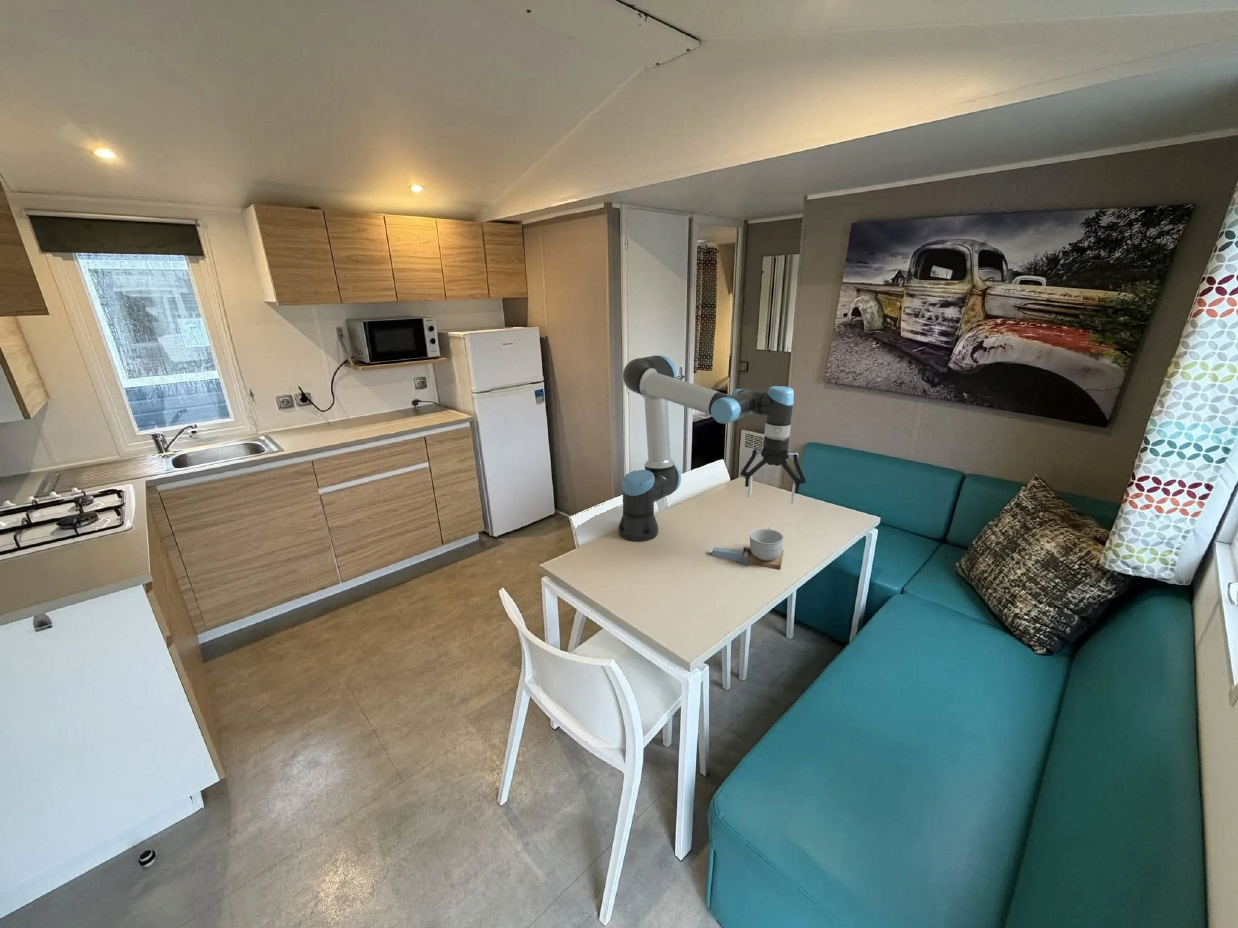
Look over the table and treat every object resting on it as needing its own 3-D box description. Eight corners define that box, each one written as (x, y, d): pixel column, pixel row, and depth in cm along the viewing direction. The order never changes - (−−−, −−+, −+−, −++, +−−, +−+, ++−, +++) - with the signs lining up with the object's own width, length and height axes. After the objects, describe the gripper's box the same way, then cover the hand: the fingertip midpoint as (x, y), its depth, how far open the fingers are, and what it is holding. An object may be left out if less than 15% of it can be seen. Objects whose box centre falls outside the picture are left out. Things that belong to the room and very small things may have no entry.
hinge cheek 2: (740, 564, 161) (740, 556, 160) (740, 563, 162) (741, 555, 161) (747, 565, 160) (748, 557, 159) (747, 564, 161) (748, 556, 160)
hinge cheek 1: (743, 555, 166) (743, 547, 165) (743, 554, 167) (744, 546, 166) (750, 556, 166) (750, 549, 165) (750, 555, 166) (751, 547, 165)
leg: (748, 557, 165) (749, 550, 165) (746, 563, 161) (747, 556, 161) (714, 552, 170) (714, 545, 169) (711, 558, 166) (711, 551, 165)
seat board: (746, 563, 162) (746, 559, 161) (750, 548, 171) (751, 544, 171) (780, 569, 158) (780, 565, 157) (783, 553, 167) (783, 550, 167)
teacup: (774, 567, 156) (776, 545, 153) (742, 557, 162) (744, 536, 160) (789, 550, 166) (791, 529, 164) (758, 541, 173) (760, 521, 170)
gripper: (734, 435, 152) (729, 497, 159) (819, 443, 143) (810, 509, 150) (738, 429, 159) (734, 489, 166) (819, 437, 150) (811, 500, 157)
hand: (770, 498), depth 158 cm, fingers open, 13 cm apart
